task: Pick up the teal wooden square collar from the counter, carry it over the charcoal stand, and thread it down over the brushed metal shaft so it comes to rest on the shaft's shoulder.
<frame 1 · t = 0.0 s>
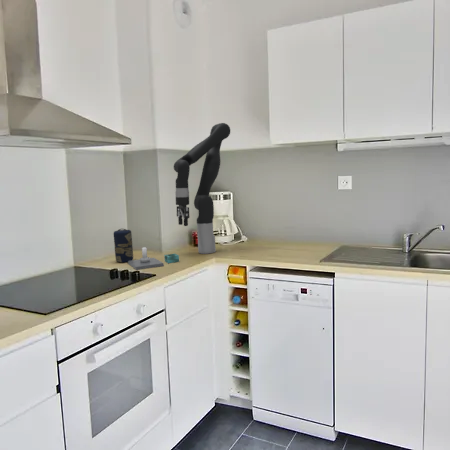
hand: (183, 225, 237), 17 cm above the countertop, tool pointing down, fingers open, 8 cm apart
shaft stand: (145, 264, 218), on the countertop
canister: (124, 261, 230), on the countertop
collar: (171, 261, 223), on the countertop
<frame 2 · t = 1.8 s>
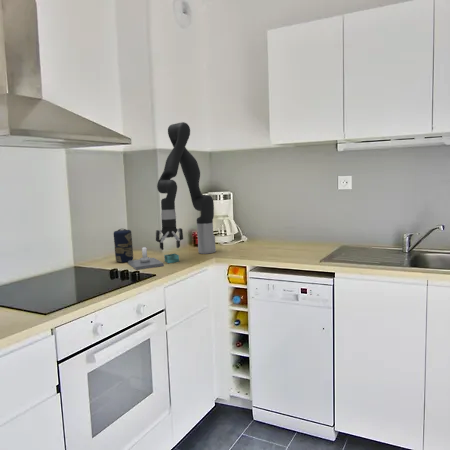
hand: (170, 248, 222), 7 cm above the countertop, tool pointing down, fingers open, 8 cm apart
nothing on the countertop moved.
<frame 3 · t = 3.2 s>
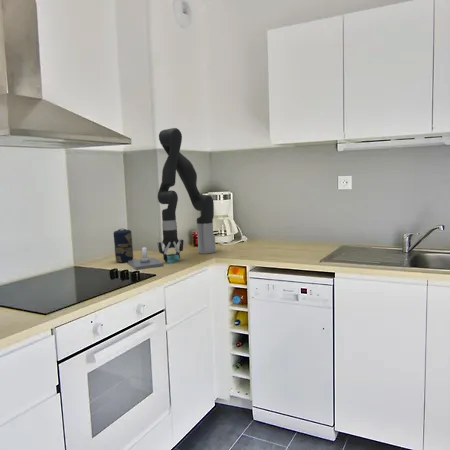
hand: (171, 260, 223), 1 cm above the countertop, tool pointing down, fingers closed on collar, 6 cm apart
collar: (171, 261, 223), on the countertop, touching gripper
everything else where it was.
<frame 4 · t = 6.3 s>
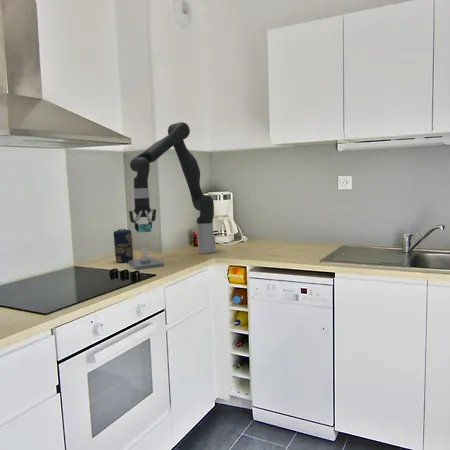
hand: (143, 230, 216), 18 cm above the countertop, tool pointing down, fingers closed on collar, 6 cm apart
collar: (143, 231, 216), point 17 cm above the countertop, touching gripper
everything else where it was.
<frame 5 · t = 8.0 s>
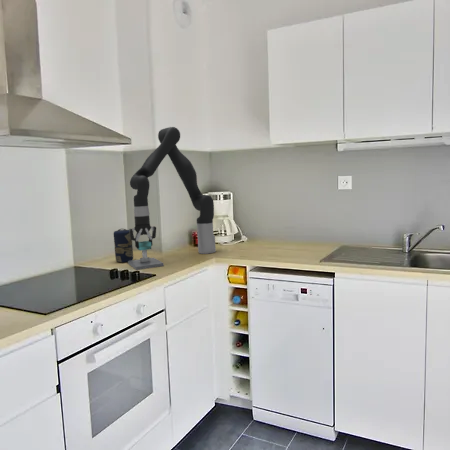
hand: (144, 247, 217), 9 cm above the countertop, tool pointing down, fingers closed on collar, 6 cm apart
collar: (144, 248, 217), point 8 cm above the countertop, touching gripper
everything else where it was.
when the fingers open (6 cm above the countertop, at t = 9.3 s): collar drops 1 cm, resting on shaft stand.
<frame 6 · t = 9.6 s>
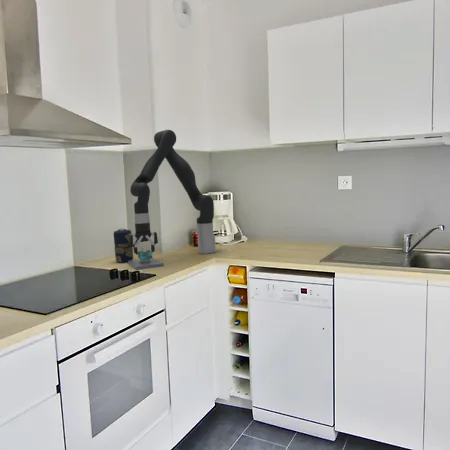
hand: (144, 253, 217), 6 cm above the countertop, tool pointing down, fingers open, 8 cm apart
collar: (145, 258, 218), point 3 cm above the countertop, touching shaft stand
everything else where it was.
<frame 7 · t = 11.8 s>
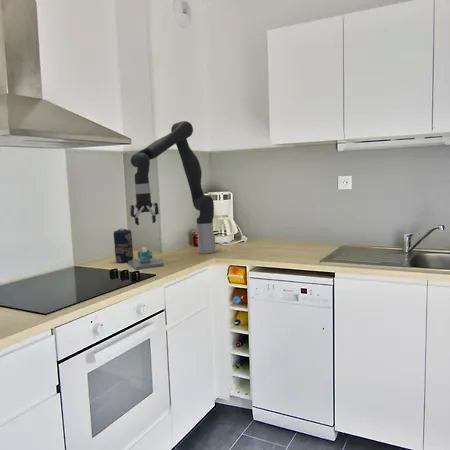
hand: (145, 223, 219), 21 cm above the countertop, tool pointing down, fingers open, 8 cm apart
nothing on the countertop moved.
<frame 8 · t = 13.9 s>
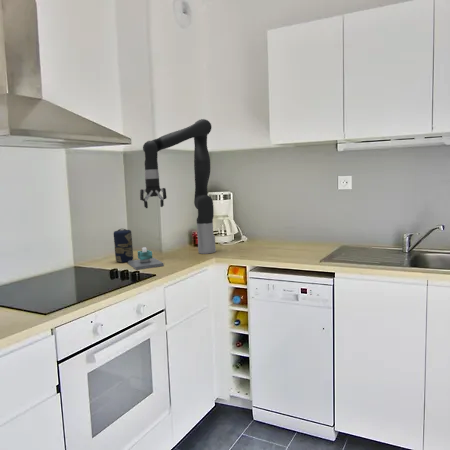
hand: (154, 207, 233), 28 cm above the countertop, tool pointing down, fingers open, 8 cm apart
nothing on the countertop moved.
at the end: collar 0.1 cm off-centre on the shaft stand, point 3.5 cm above the shaft stand's base; the gripper is holding nothing; collar tilted 0° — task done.
